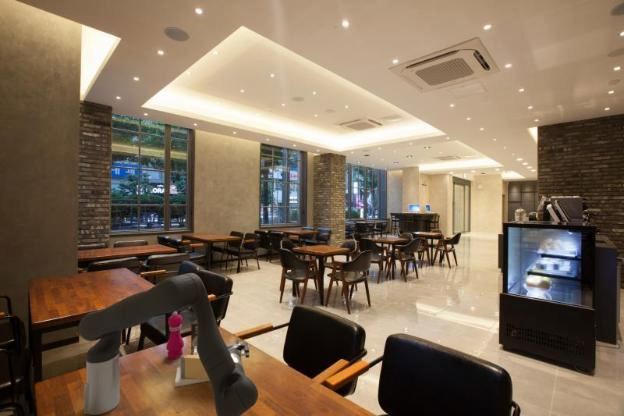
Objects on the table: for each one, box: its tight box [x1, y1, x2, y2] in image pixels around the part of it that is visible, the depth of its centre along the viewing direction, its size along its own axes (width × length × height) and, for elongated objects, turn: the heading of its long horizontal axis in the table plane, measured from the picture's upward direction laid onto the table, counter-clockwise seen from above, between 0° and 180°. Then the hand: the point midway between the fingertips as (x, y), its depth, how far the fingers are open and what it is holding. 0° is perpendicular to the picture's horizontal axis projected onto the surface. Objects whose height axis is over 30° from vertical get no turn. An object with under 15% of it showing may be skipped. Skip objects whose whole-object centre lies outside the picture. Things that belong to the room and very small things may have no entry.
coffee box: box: [190, 318, 198, 355], centre depth 136 cm, size 9×6×16 cm
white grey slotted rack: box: [174, 341, 237, 387], centre depth 123 cm, size 24×11×10 cm, turn 110°
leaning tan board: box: [179, 354, 209, 380], centre depth 117 cm, size 21×3×8 cm, turn 85°
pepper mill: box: [166, 311, 185, 359], centre depth 137 cm, size 7×7×20 cm
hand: (225, 343), depth 106 cm, fingers open, 8 cm apart
